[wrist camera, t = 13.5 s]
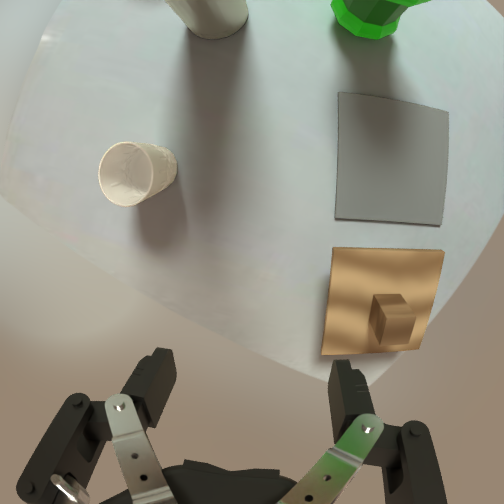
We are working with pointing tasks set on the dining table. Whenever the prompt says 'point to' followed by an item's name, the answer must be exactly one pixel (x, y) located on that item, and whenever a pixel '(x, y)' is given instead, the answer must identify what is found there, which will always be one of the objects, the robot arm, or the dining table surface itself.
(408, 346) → the oak lid
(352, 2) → the plastic bottle
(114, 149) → the white cup
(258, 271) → the dining table surface
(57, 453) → the robot arm
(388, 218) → the grey mat
